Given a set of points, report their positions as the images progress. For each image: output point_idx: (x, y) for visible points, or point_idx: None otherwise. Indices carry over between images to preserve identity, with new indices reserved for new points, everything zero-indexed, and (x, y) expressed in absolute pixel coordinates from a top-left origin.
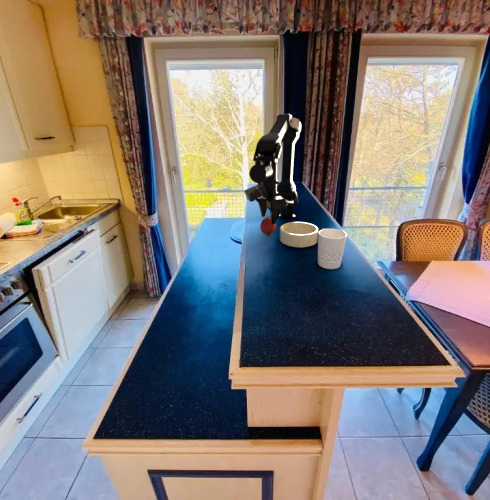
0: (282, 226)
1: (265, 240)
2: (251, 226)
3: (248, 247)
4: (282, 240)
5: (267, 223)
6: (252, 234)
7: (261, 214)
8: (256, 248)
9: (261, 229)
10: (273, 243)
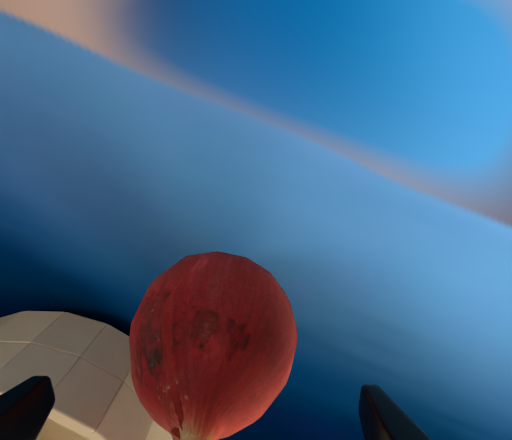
0: (77, 432)
1: (146, 230)
2: (489, 243)
3: (38, 39)
4: (20, 322)
5: (139, 346)
6: (306, 182)
7: (390, 405)
8: (7, 101)
9: (204, 255)
10: (76, 259)
